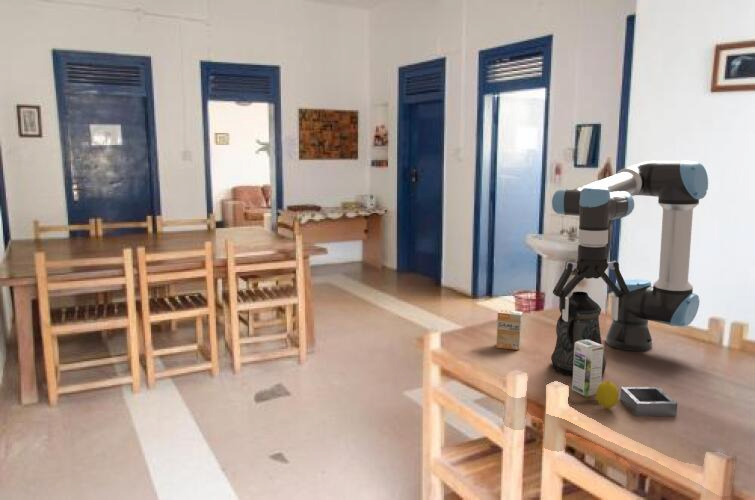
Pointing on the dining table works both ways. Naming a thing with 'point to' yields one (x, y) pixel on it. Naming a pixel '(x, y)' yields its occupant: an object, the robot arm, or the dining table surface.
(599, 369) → the syrup box
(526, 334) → the dining table surface
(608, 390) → the lemon
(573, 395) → the walnut board
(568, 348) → the beer stein
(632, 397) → the metal collar
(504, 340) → the supplement box
